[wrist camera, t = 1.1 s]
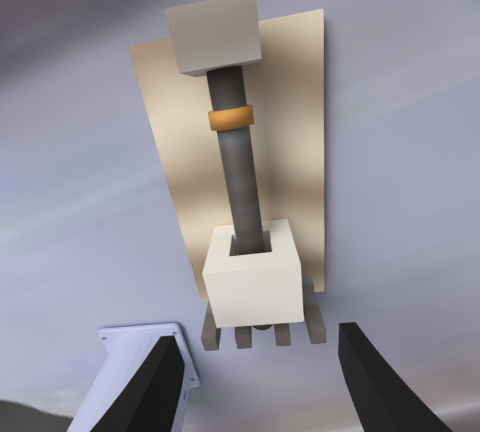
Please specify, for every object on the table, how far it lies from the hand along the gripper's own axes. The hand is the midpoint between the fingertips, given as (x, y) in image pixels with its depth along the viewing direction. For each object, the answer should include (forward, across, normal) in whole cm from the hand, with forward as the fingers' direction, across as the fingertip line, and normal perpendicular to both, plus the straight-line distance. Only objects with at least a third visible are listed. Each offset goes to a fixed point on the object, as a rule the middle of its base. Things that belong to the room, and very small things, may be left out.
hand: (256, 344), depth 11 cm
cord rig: (+9, 0, -4) cm, 10 cm away
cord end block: (+8, 0, 0) cm, 8 cm away
